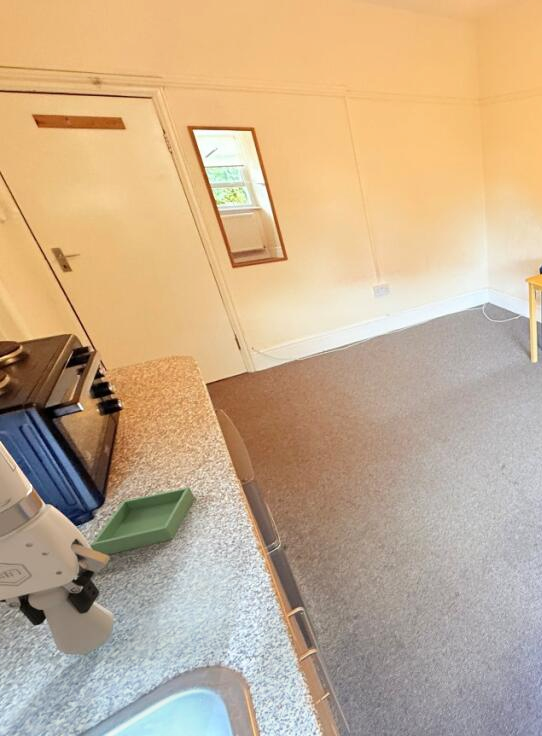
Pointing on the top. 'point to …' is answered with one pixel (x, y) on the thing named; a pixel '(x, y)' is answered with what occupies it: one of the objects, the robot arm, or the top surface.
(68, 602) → the salt shaker
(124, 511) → the tray
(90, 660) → the top surface
